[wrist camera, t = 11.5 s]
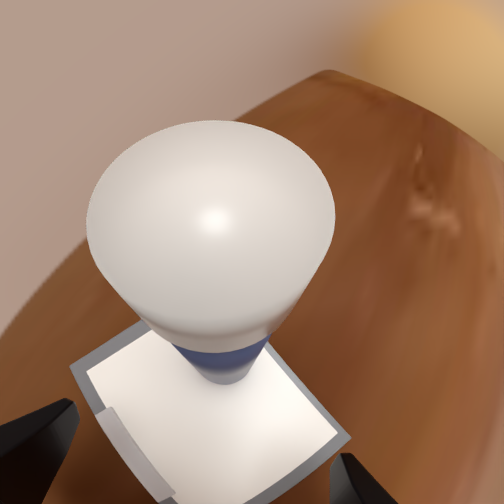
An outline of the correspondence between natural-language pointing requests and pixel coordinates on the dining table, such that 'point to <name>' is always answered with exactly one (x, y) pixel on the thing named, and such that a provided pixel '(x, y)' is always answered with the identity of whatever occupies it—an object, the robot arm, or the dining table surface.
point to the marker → (212, 237)
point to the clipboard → (205, 422)
